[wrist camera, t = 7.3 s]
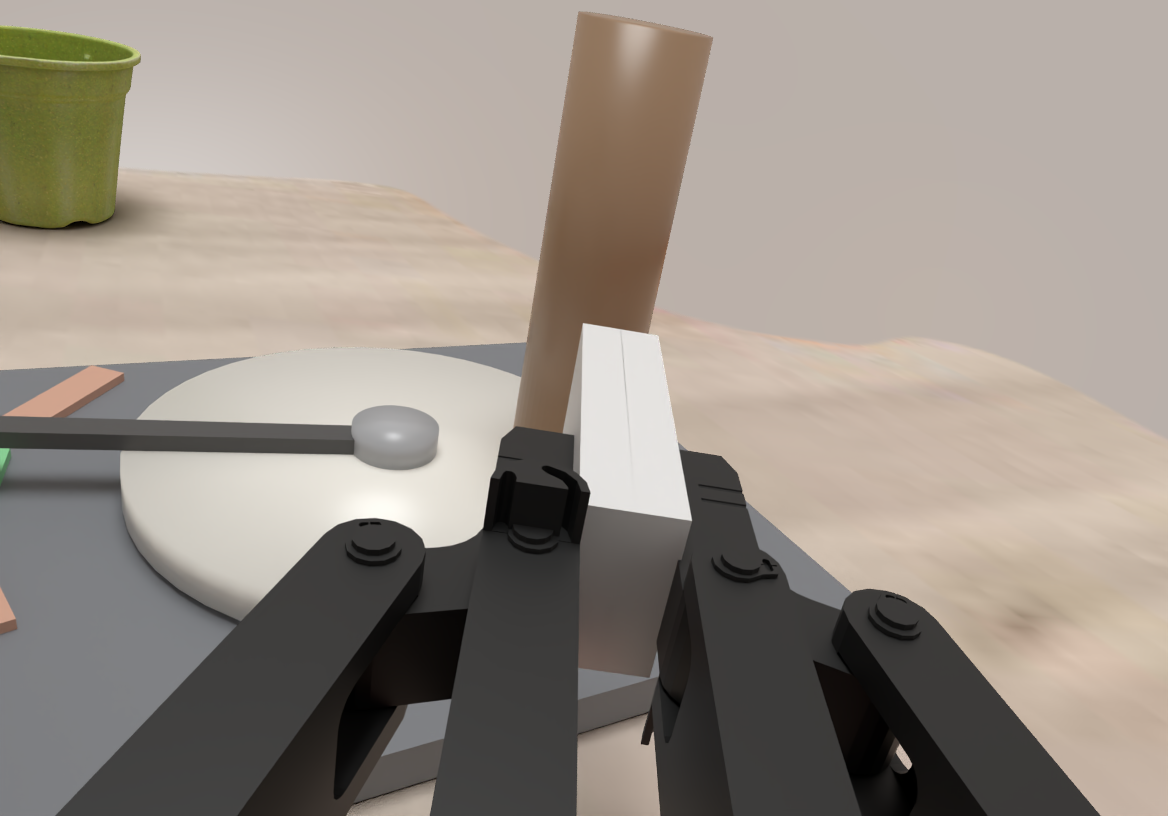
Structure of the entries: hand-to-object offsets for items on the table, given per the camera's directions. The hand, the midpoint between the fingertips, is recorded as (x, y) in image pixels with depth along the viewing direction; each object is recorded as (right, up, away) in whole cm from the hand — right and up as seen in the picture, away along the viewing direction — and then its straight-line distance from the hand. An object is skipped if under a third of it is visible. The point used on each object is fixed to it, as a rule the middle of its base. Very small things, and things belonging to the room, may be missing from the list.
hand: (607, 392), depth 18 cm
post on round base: (-7, -2, +10) cm, 13 cm away
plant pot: (-29, +10, +31) cm, 43 cm away
